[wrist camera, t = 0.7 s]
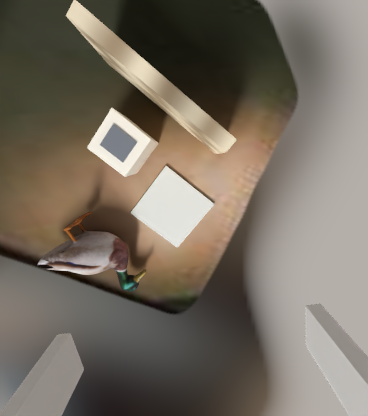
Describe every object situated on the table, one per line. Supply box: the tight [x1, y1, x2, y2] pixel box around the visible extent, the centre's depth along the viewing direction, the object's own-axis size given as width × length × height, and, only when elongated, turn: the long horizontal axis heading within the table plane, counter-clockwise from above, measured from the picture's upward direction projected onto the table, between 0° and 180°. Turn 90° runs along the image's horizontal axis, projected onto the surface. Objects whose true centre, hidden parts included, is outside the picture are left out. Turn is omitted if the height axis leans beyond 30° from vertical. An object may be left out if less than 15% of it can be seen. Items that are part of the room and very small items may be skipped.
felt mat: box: [131, 166, 214, 247], centre depth 33 cm, size 10×10×1 cm
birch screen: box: [66, 0, 237, 154], centre depth 24 cm, size 20×2×10 cm, turn 52°
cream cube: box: [87, 108, 158, 177], centre depth 28 cm, size 6×6×6 cm
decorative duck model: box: [38, 212, 146, 292], centre depth 32 cm, size 15×8×15 cm
